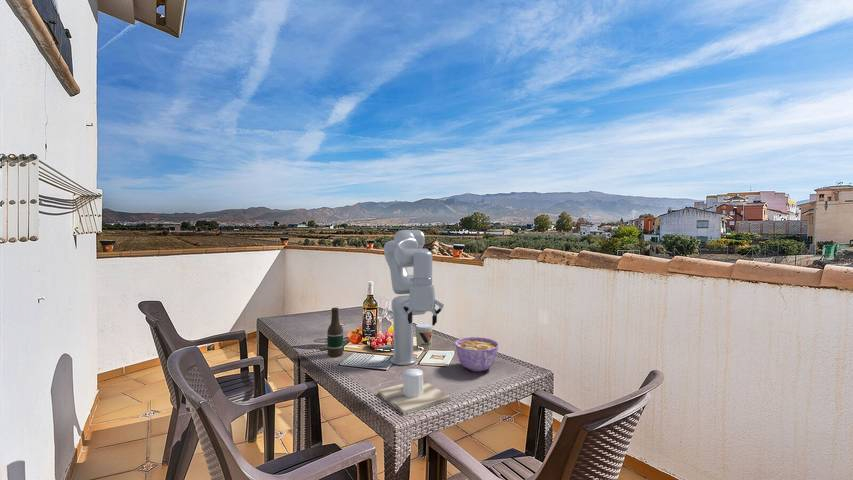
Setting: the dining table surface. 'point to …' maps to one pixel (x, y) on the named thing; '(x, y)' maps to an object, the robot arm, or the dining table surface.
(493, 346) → the bowl of food
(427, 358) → the dining table surface
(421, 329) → the coffee cup
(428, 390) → the beige flat square plate
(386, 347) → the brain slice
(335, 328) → the beer bottle
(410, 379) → the elbow
